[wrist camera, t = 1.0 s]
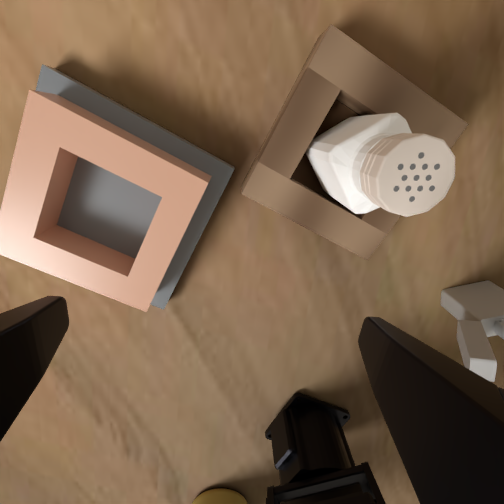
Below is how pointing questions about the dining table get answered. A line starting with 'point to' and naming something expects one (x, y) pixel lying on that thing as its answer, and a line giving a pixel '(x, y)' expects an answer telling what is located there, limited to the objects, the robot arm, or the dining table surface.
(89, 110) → the dock
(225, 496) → the bark log cylinder
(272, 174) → the walnut holder
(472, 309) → the lighter
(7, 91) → the dining table surface
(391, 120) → the pepper shaker
